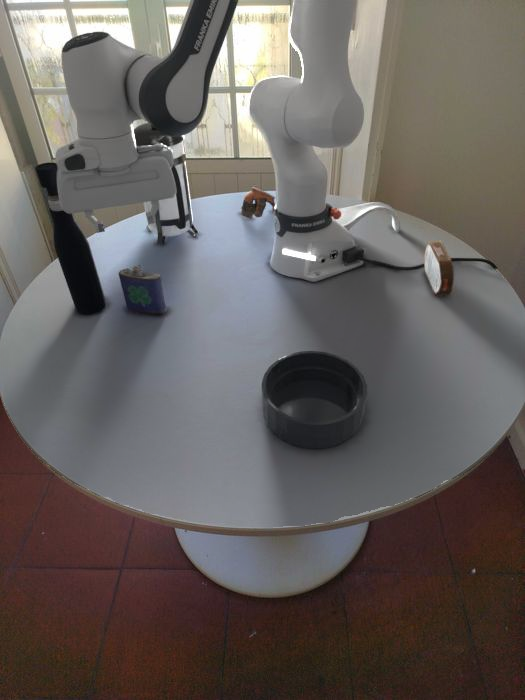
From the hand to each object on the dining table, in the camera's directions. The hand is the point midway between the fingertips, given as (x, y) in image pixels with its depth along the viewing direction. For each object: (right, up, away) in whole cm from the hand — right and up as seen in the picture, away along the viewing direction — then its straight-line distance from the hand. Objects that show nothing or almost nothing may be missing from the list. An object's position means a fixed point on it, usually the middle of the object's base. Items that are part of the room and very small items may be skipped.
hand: (126, 226), depth 87 cm
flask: (+1, -15, +13) cm, 19 cm away
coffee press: (+2, +8, +40) cm, 40 cm away
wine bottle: (-12, -14, +14) cm, 23 cm away
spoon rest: (+50, +9, +38) cm, 63 cm away
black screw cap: (+34, -33, -11) cm, 48 cm away
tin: (+64, -8, +17) cm, 67 cm away
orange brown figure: (+24, +16, +48) cm, 56 cm away
